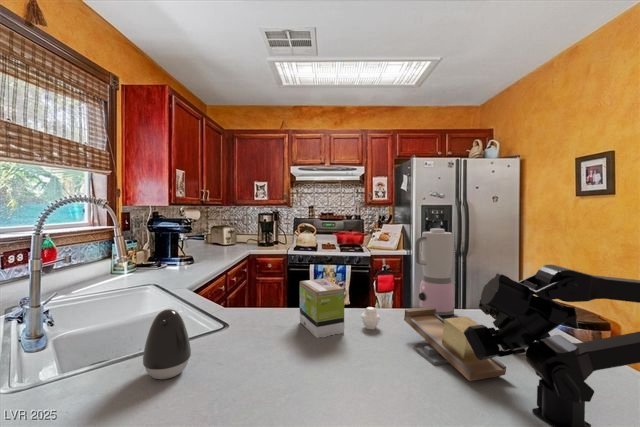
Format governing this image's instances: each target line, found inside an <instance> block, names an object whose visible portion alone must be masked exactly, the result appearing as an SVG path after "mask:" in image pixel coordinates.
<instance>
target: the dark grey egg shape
mask: <svg viewBox="0 0 640 427" xmlns="http://www.w3.org/2000/svg"><path fill="white" fill-rule="evenodd" d="M143 350H144V351H143V354H142V355H143V356H142V365H143V366H144V369H145V371H146V373H147V374H148V375H149V376H150V377H151V378H152V379H156V380H157V379H158V380H168V379H171V378H174V377H176V376H178V375H179V374H180V373H183V371H184V370H185V369H186V367H187V365H188V364H189V361H190V357H191V356H192V349H191V343H190V337H189V333H188V330H187V327H186V324H185V322H184V320H183V318H182V316H181V315H180V313H179V312H178V311H176V310H174V309H173V308H171V309H170V308H168V309H163V310H162V311H160V312H158V313H157V315H156V316H155V318H154V319H153V321H152V323H151V325H150V327H149V330H148V333H147V338H146V340H145V344H144V349H143Z"/></svg>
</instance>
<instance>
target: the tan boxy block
mask: <svg viewBox="0 0 640 427" xmlns="http://www.w3.org/2000/svg"><path fill="white" fill-rule="evenodd" d="M443 320H444V327H443V336H442V345H443V346H445V347H446V348H447V349H448V350H449V351H450V352H451V353H453V354H454V355H455V356H456V357H457V358H458V359H459V360H461V361H462V362H463V363H465V362H471V361H478V360H479V359H478V358H477V357H476V355H475V353H474V352H473V350H472V348H471V346H470V344H469V342H468V340H467V338H466V336H465V335H464V330H465V329H467V328H468V327H469V326H476V325H480V324H479V323H478V322H476V321H475V320H473V319H472V318H470V317H469V316H460V317H457V316H456V317H450V318H443Z"/></svg>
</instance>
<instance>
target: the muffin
mask: <svg viewBox="0 0 640 427" xmlns="http://www.w3.org/2000/svg"><path fill="white" fill-rule="evenodd" d="M360 318H361V319H362V320H361V321H362V323H363V325H364V327H365V329H367V330H375V329H376V328H377V326H378V325H379V322H380V320H381V316H380V315H379V313H378V312H377V310H376V308H375V307H372V306H368V307H366V308H365V309H364V312H362V314H361V317H360Z"/></svg>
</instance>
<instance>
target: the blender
mask: <svg viewBox="0 0 640 427" xmlns="http://www.w3.org/2000/svg"><path fill="white" fill-rule="evenodd" d="M445 230H446V229H445V228H430V229H429V231H422V234H421V236H420V237H418V238H417V239H416V241H415V245H414V246H415V250H414V251H415V252H414V253H415V263H416V264H418V265H421V266H422V271H423V277H422V280H421V282H420V285H419V293H418V298H419V308H426V307H434V308H435V309H436V314H437V315H438V316H450V315H452V316H454V314H455V308H454V306H455V303H454V302H455V288H454V285H453V283H452V280H451V274H452V269H453V263H454V234H453V233H452V232H449V231H448V232H447V231H445Z"/></svg>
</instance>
